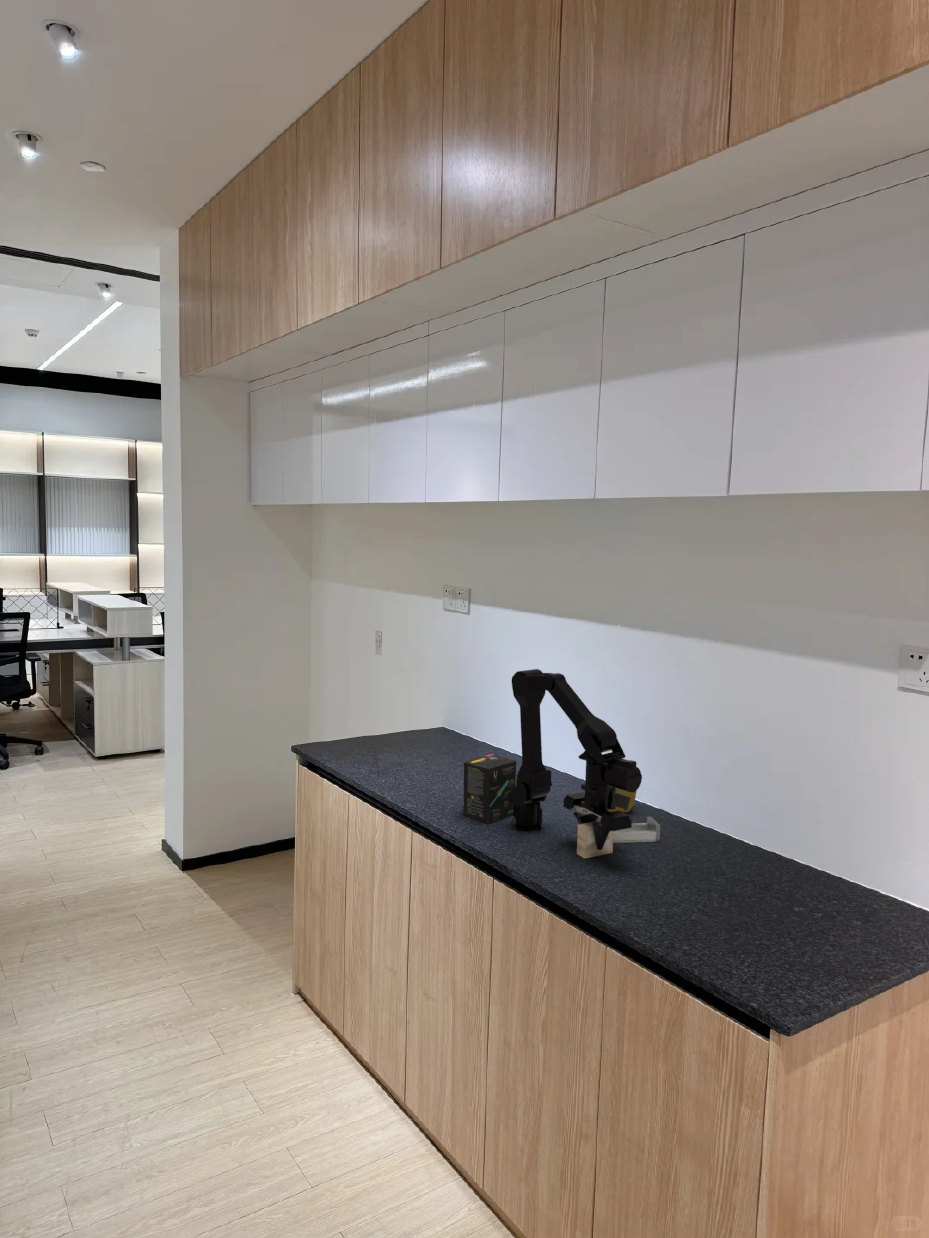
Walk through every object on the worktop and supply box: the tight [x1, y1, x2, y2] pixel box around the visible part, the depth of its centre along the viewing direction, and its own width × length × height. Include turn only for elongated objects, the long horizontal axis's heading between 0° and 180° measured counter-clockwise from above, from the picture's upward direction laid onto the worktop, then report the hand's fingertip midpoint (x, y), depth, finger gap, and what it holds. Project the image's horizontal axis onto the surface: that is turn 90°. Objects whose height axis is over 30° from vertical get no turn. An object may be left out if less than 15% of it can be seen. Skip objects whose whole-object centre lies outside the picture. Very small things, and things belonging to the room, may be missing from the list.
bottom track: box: [613, 816, 661, 844], centre depth 202 cm, size 16×6×4 cm, turn 98°
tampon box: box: [462, 753, 517, 825], centre depth 216 cm, size 11×9×15 cm
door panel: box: [576, 820, 614, 859], centre depth 192 cm, size 8×3×7 cm, turn 118°
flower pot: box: [608, 788, 638, 814], centre depth 223 cm, size 9×9×9 cm
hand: (595, 846), depth 192 cm, fingers closed on door panel, 3 cm apart
